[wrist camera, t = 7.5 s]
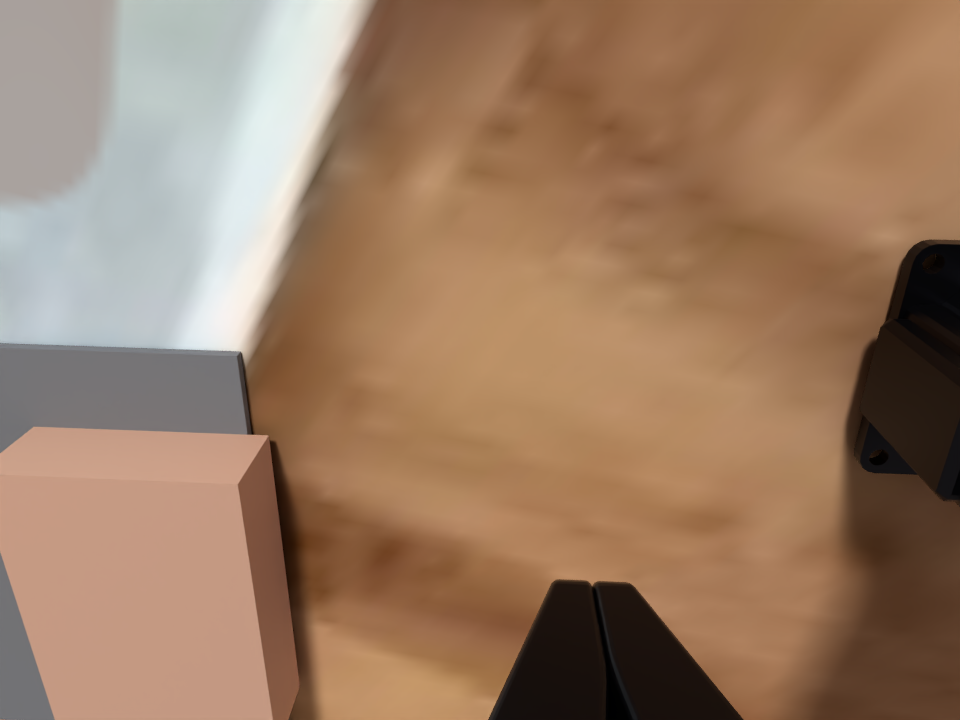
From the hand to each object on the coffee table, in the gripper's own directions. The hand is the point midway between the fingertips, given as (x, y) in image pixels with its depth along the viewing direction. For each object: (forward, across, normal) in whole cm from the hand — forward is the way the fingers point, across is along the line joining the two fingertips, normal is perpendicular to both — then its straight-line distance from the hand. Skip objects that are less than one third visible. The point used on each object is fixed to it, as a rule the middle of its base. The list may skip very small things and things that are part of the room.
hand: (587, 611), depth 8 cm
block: (+10, +8, +10) cm, 16 cm away
